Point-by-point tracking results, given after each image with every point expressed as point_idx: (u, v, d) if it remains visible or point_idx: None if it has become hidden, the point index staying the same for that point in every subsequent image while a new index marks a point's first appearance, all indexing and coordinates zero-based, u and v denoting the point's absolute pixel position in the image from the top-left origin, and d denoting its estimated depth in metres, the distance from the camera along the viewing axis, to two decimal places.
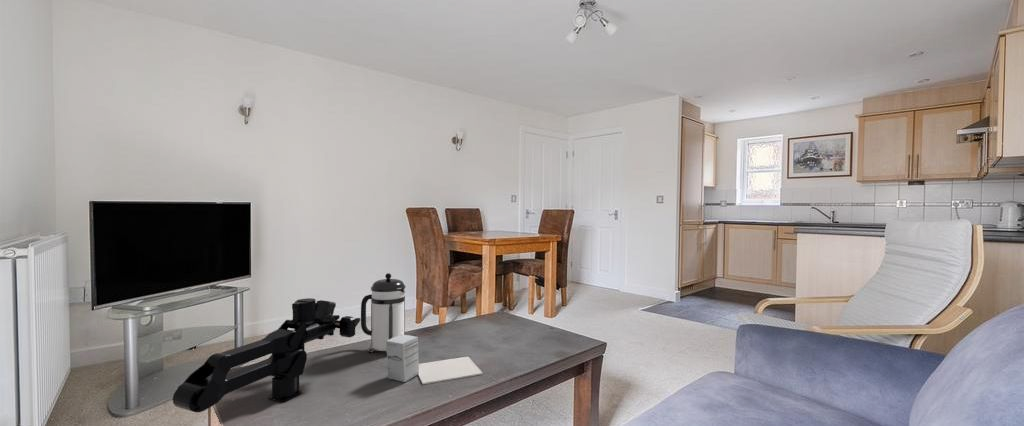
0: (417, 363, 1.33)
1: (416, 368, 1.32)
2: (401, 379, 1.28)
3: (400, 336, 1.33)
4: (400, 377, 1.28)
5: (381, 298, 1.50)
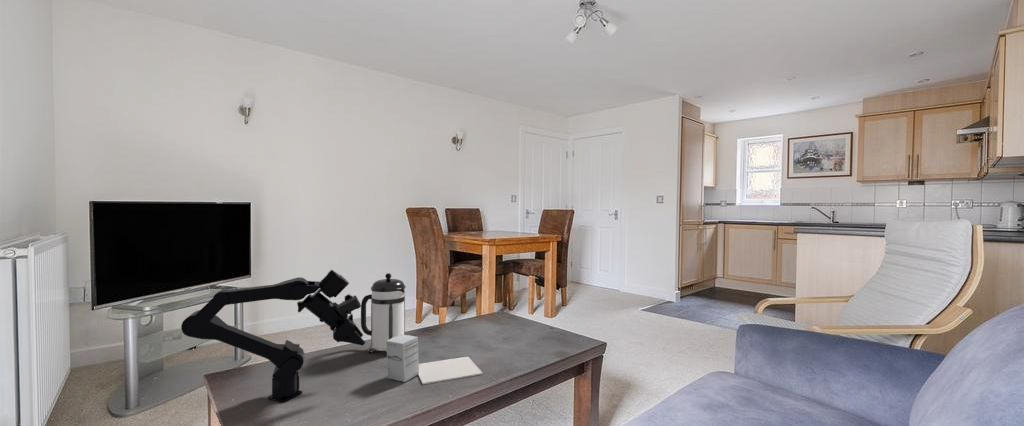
0: (417, 363, 1.33)
1: (416, 368, 1.32)
2: (401, 379, 1.28)
3: (400, 336, 1.33)
4: (400, 377, 1.28)
5: (381, 298, 1.50)
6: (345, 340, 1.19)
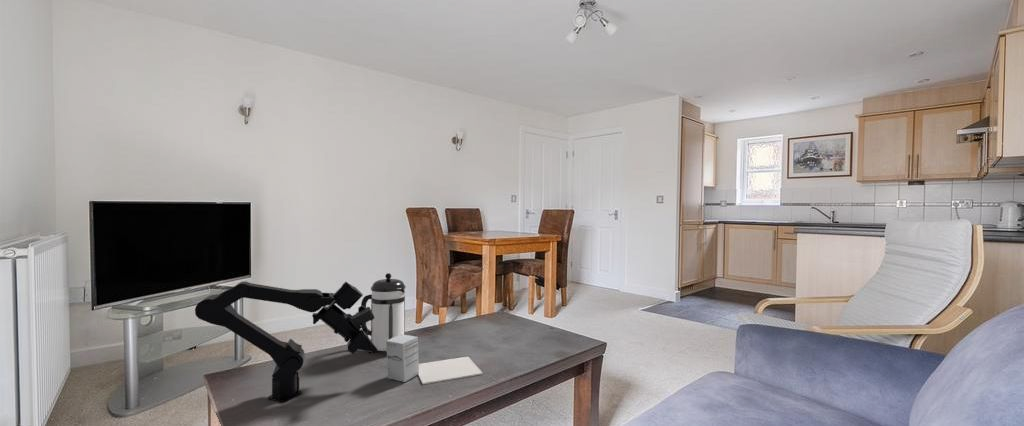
0: (417, 363, 1.33)
1: (416, 368, 1.32)
2: (401, 379, 1.28)
3: (400, 336, 1.33)
4: (400, 377, 1.28)
5: (381, 298, 1.50)
6: (358, 347, 1.24)
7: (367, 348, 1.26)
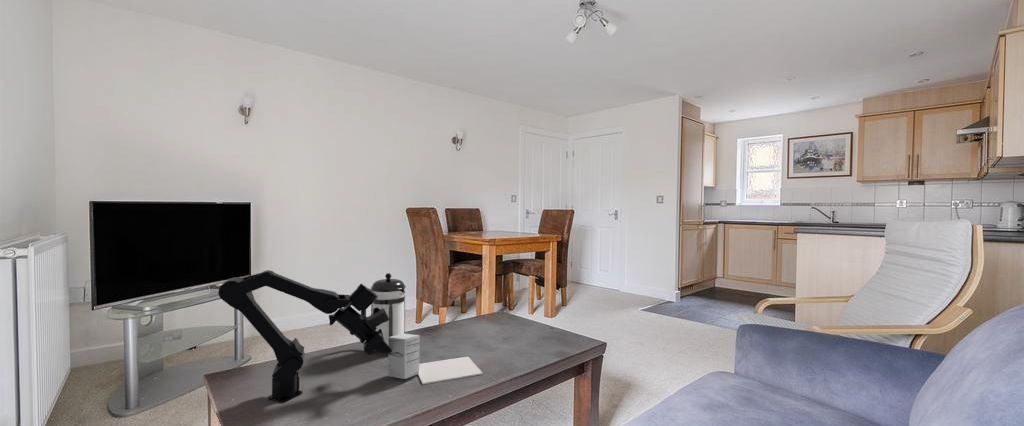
0: (418, 362, 1.33)
1: (416, 367, 1.32)
2: (401, 376, 1.28)
3: (402, 334, 1.35)
4: (400, 374, 1.28)
5: (381, 298, 1.50)
6: None
7: (382, 349, 1.28)
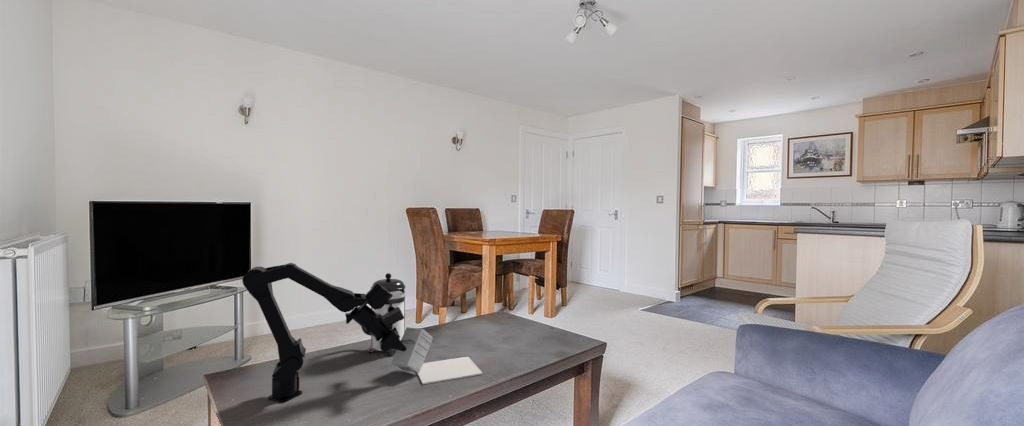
0: (422, 361, 1.35)
1: (420, 364, 1.34)
2: (405, 362, 1.30)
3: None
4: (404, 360, 1.30)
5: None
6: None
7: (397, 347, 1.30)
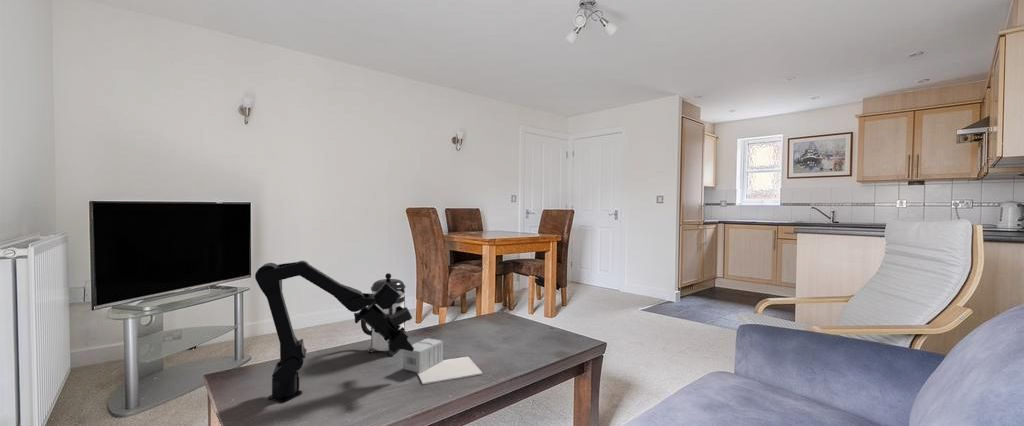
0: (426, 367, 1.37)
1: (424, 366, 1.36)
2: (418, 350, 1.35)
3: None
4: (418, 349, 1.35)
5: None
6: None
7: (405, 347, 1.31)
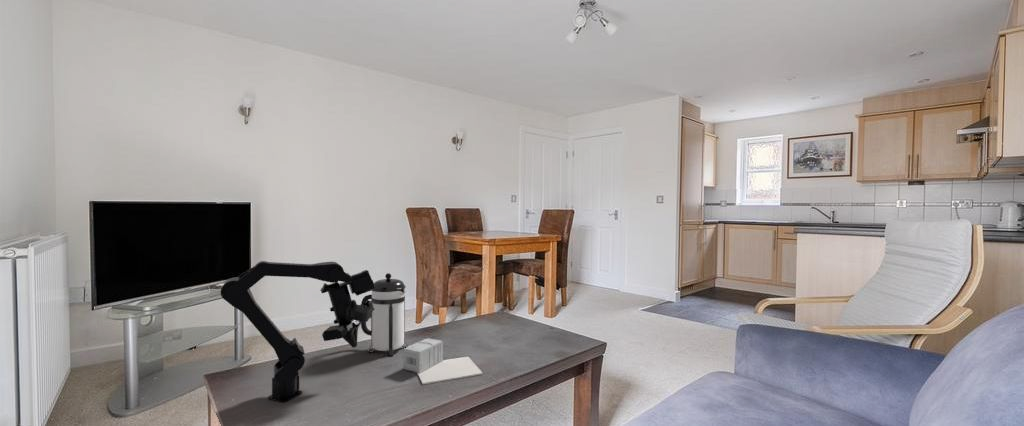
0: (426, 367, 1.37)
1: (424, 366, 1.36)
2: (418, 350, 1.35)
3: None
4: (418, 349, 1.35)
5: (381, 298, 1.50)
6: None
7: (347, 340, 1.26)
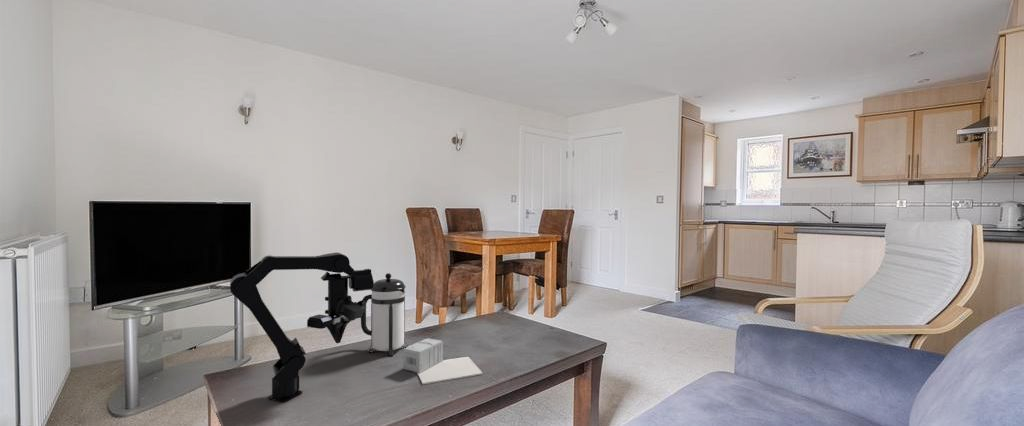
0: (426, 367, 1.37)
1: (424, 366, 1.36)
2: (418, 350, 1.35)
3: None
4: (418, 349, 1.35)
5: (381, 298, 1.50)
6: None
7: (332, 333, 1.25)
